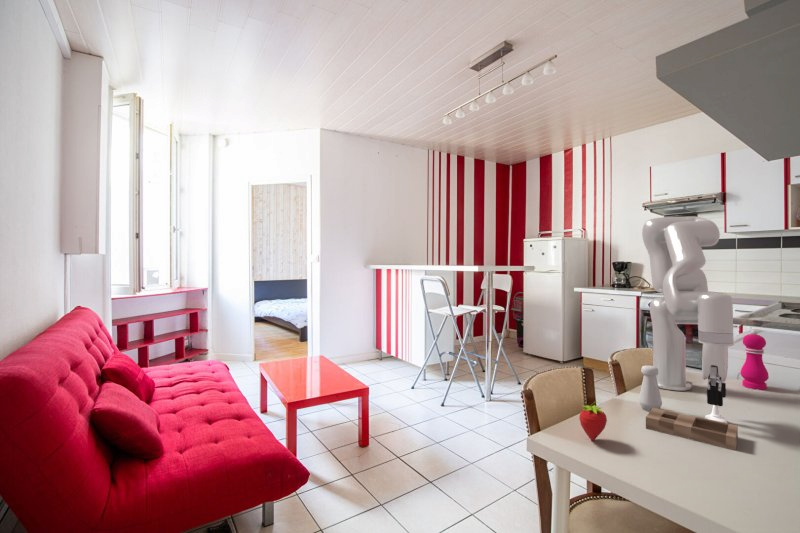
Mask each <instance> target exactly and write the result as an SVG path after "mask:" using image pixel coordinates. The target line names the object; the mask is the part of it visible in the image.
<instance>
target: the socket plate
mask: <svg viewBox="0 0 800 533" xmlns="http://www.w3.org/2000/svg"><path fill="white" fill-rule="evenodd" d="M704 418H705V417H704ZM704 418H703V417H699V416H695V415H689V414H686V413H685V414H684V413H679V412H675V411H672V410H671V411H670V410H665V409H661V408H660V409H657V408H652V410H651V411H650V412H648V413H647V414H646V416H645V429H646V430H651V431H655V432H659V433H662V434H663V433H664V434H666V435H667V434H668V435H670V436H675V437H680V438H684V439H688V440H692V441H695V442H699V443H700V442H701V443H703V444H709V445H712V446H715V447H721V448H725V449H728V450H732V451H736V450H737V444H738V438H739V436H738V435H739V432H738V431H739V430H738V429H739V428H738V425H736V424H732V423H728V422H727V423H723V422H718V421H714V420H709V419H704Z"/></svg>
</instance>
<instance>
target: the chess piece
mask: <svg viewBox="0 0 800 533" xmlns="http://www.w3.org/2000/svg"><path fill="white" fill-rule="evenodd" d="M704 419H709V420H714V421H718V422H723V423H728V419H726V418H725V417H723V416H722V415H721V414H720V409H719V406H716V405H712V410H711V413H710V414H706V415H704Z"/></svg>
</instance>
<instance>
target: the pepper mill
mask: <svg viewBox="0 0 800 533" xmlns="http://www.w3.org/2000/svg"><path fill="white" fill-rule="evenodd" d="M742 344H743V345H744V346H745V347H744V352H745V355H746V357H745V361H744V363H743V365H742V367H741V369H740V376H741V377H742V378H743V380H741V382H742V387H744V388H746V389H750V388H752V389H751V390H756V389H760V390H759V391H765V389H766V390H767V389H768V388H767V387H768V384H767V383H766V382H767V381H768V380H769V372H768V370H767V368H766V366H765V365H764V360H763V355H764V354H765V352H764V351H765V349H764V348H765V347H766V345H767V341H766V339H765V338H764V337H763V336H761V335H759V334H758V331H757V330H756V329H752V330H750V334H746V335H744V337H742Z"/></svg>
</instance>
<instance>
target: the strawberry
mask: <svg viewBox="0 0 800 533" xmlns="http://www.w3.org/2000/svg"><path fill="white" fill-rule="evenodd" d="M596 402H597V401H593V404H594V405H589V404H588V405H582V407H583V408H582V409H581V411H580V413H579V417H578V419H579V421H580V426H581V428H582V430H583V431H584V433H585V435H587V437H588V438H589V439H590V440H591V441H596V439H597V438H598V436H600V434H602V432H603V431H604V430H605V428H606V426H607V422H608V420H607V415H606V413H605V412H604V411H603V410H601V409H602V407H599V406H596V404H595V403H596Z"/></svg>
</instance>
